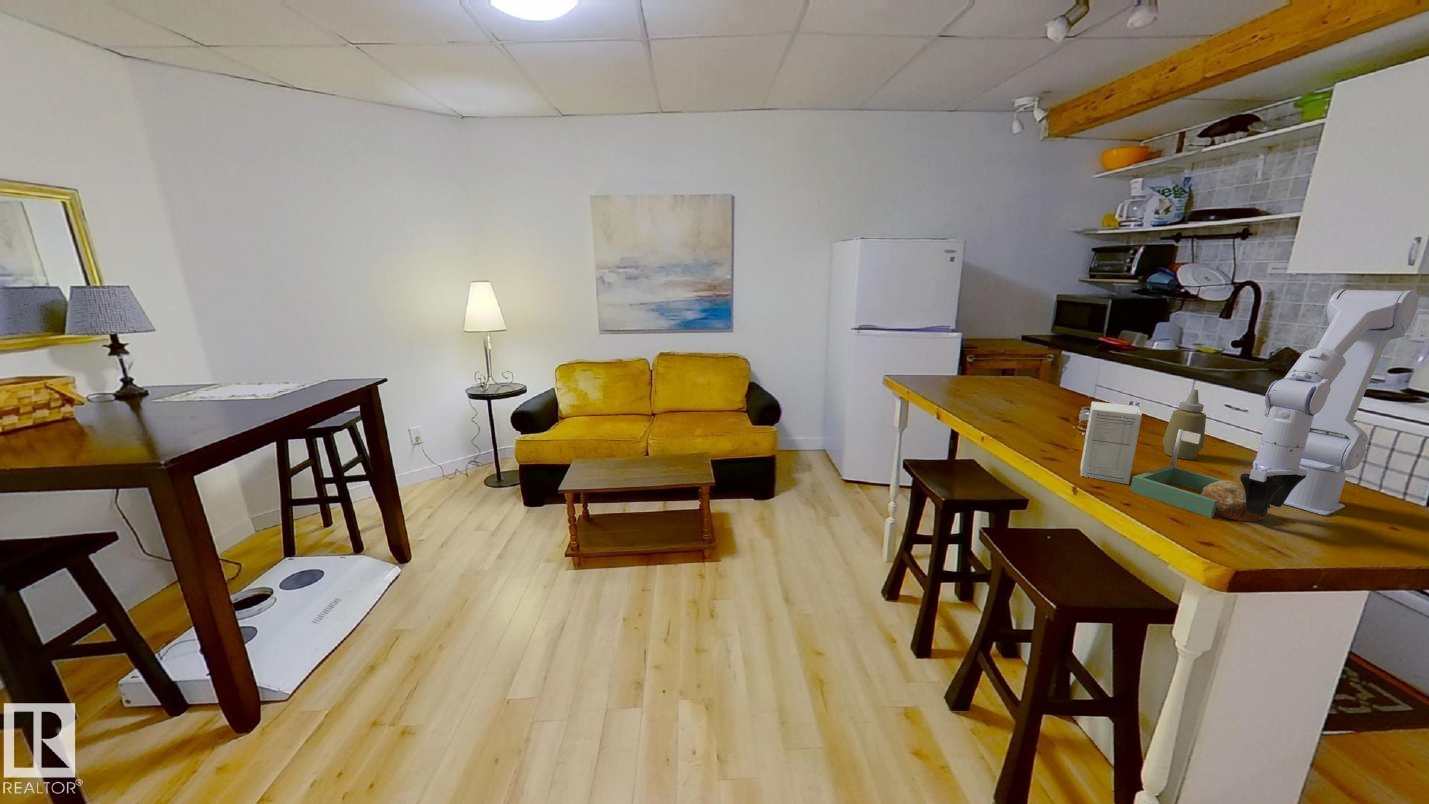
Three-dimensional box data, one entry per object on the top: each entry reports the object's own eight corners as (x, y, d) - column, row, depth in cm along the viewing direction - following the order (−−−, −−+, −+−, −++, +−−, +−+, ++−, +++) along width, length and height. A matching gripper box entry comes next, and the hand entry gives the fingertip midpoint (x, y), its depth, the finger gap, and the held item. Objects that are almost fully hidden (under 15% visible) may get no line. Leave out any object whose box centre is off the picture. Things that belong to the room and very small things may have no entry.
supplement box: (1126, 472, 125) (1140, 405, 121) (1130, 485, 118) (1144, 414, 114) (1079, 464, 131) (1090, 400, 127) (1079, 476, 123) (1091, 408, 119)
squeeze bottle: (1152, 450, 141) (1166, 386, 137) (1185, 451, 140) (1200, 386, 135) (1173, 460, 133) (1189, 393, 129) (1208, 462, 132) (1225, 394, 128)
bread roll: (1200, 513, 112) (1186, 479, 112) (1265, 505, 106) (1251, 469, 106) (1209, 532, 104) (1195, 495, 104) (1281, 524, 98) (1265, 485, 98)
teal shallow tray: (1167, 479, 121) (1179, 428, 118) (1248, 503, 109) (1263, 447, 106) (1129, 491, 115) (1141, 437, 112) (1210, 517, 102) (1225, 458, 99)
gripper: (1295, 455, 91) (1275, 525, 94) (1329, 443, 97) (1309, 509, 100) (1242, 443, 97) (1225, 509, 101) (1277, 433, 103) (1260, 496, 107)
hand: (1263, 508), depth 101 cm, fingers open, 7 cm apart
